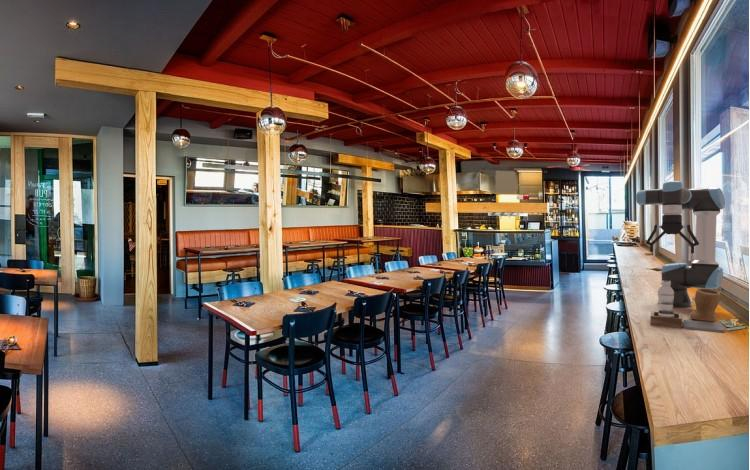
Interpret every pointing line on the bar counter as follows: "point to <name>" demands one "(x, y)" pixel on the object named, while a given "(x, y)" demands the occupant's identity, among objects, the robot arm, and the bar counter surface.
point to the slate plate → (703, 325)
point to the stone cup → (705, 304)
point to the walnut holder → (666, 320)
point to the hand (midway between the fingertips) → (671, 260)
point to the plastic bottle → (666, 300)
